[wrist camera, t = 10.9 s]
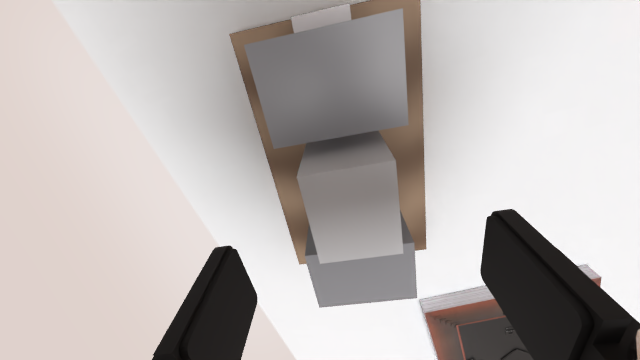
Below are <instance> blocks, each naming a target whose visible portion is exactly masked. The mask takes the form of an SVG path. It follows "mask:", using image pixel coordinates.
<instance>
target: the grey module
mask: <svg viewBox="0 0 640 360" xmlns="http://www.w3.org/2000/svg"><path fill="white" fill-rule="evenodd" d="M297 180H298V184H299V187H300V191H301V195H302V198H303V202H304V206H305V210H306V213H307V217H308V221H309V225H310V228H311V232H312V236H313V239H314V243H315V247H316V251H317V254H318V258H319V262H320V264H323V263H331V262H339V261H347V260H355V259H364V258H372V257H380V256H388V255H396V254H404V253H403V241H402V229H401V217H400V205H399V193H398V181H397V168H396V160H395V158H394V156H393V155H392V153H391V151H390V150H389V148H388V146H387V144H386V143H385V141H384V139H383V138H382V136H381V134H380V133H379V131H373V132H367V133H361V134H356V135H350V136H344V137H339V138H333V139H327V140H322V141H316V142H311V143H306V146H305V149H304V153H303V157H302V160H301V163H300V167H299V170H298V174H297Z"/></svg>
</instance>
